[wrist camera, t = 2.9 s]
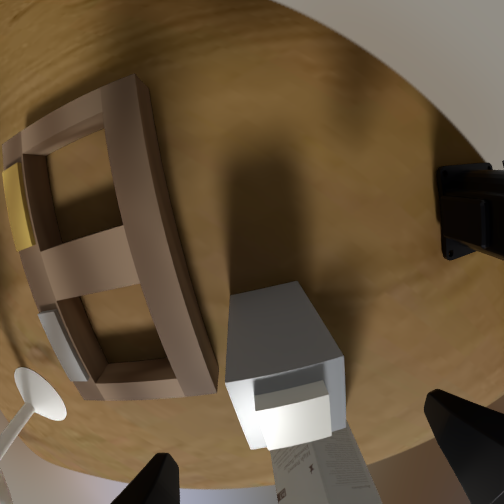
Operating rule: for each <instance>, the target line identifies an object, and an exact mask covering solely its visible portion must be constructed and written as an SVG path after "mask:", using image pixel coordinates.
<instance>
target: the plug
mask: <svg viewBox="0 0 504 504" xmlns="http://www.w3.org/2000/svg"><path fill="white" fill-rule="evenodd" d="M225 384H226V387H227V390H228V392H229V395H230V398H231V401H232V403H233V406H234V408H235V411H236V414H237V416H238V419H239V421H240V424H241V426H242V429H243V431H244V434H245V436H246V439H247V441H248V444H249V446H250V448H251V449H258V448H264V447H267V448H268V450H274V449H280V448H285V447H290V446H294V445H299V444H303V443H307V442H311V441H315V440H319V439H323V438H326V437H330V436H332V432H333V431H337V430H340V429H343V428H346V394H345V368H344V355H343V354H342V352H341V350H340V349H339V347H338V345H337V344H336V342H335V341H334V339H333V337H332V336H331V334H330V332H329V331H328V329H327V327H326V326H325V324H324V323H323V321H322V319H321V318H320V316H319V315H318V313H317V311H316V310H315V308H314V306H313V305H312V303H311V302H310V300H309V298H308V297H307V295H306V294H305V292H304V291H303V289H302V287H301V286H300V284H299V283H298V281H294V282H289V283H285V284H281V285H276V286H272V287H267V288H263V289H258V290H254V291H249V292H244V293H240V294H235V295H230V305H229V321H228V338H227V355H226V374H225Z"/></svg>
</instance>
